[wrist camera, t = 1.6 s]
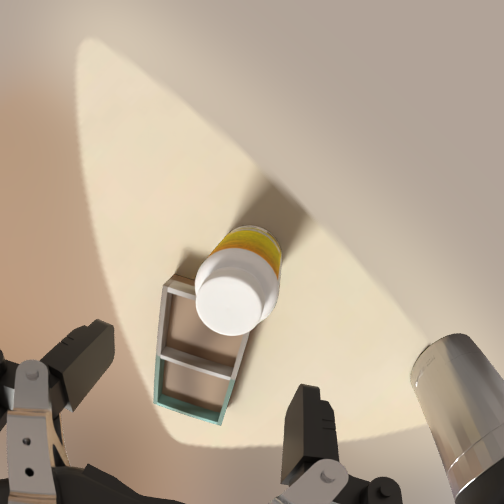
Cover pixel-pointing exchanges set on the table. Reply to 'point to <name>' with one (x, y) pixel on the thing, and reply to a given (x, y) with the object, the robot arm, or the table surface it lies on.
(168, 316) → the divided sorting tray
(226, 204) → the table surface
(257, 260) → the supplement bottle
